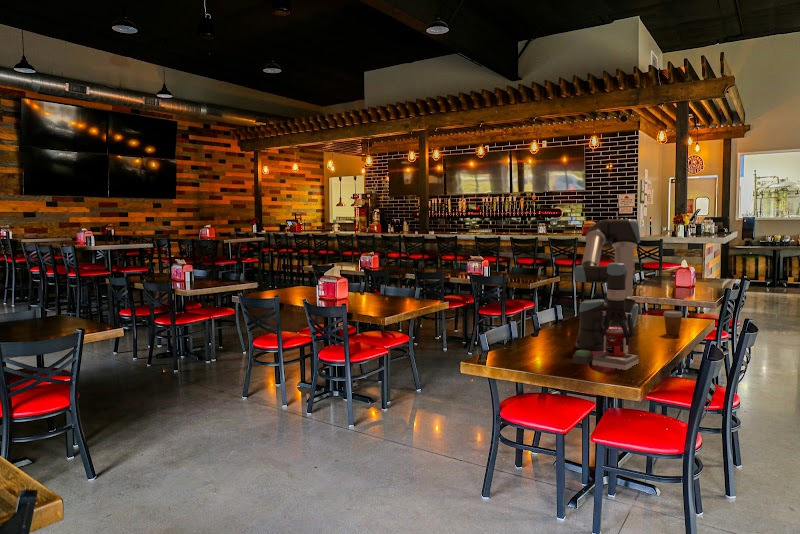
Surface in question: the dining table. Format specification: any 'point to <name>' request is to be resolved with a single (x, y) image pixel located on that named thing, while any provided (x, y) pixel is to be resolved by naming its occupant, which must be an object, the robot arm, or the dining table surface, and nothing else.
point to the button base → (582, 359)
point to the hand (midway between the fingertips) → (615, 351)
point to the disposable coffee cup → (672, 322)
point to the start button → (583, 353)
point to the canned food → (615, 342)
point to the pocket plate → (615, 361)
